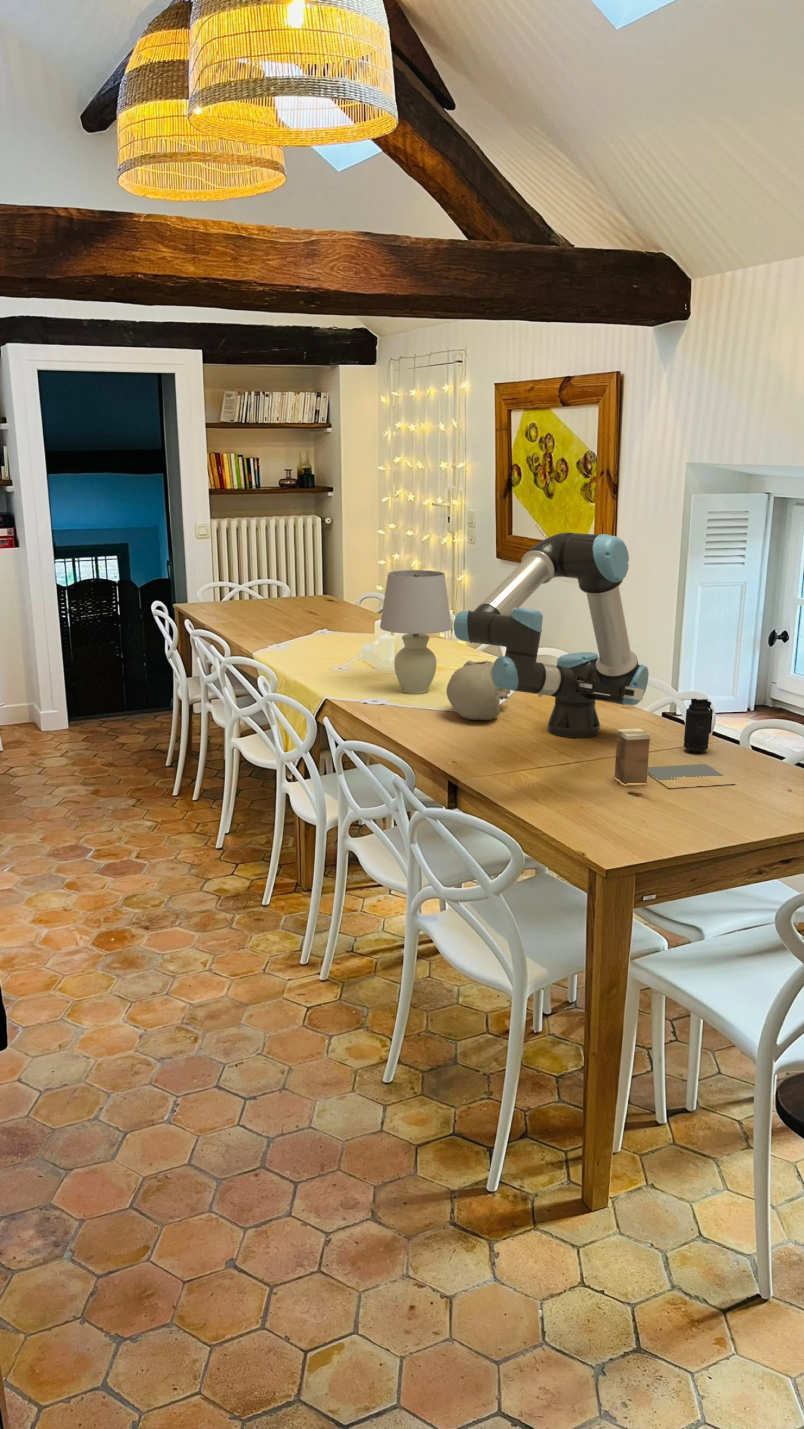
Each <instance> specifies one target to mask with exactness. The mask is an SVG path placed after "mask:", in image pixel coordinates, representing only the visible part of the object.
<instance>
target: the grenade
mask: <svg viewBox="0 0 804 1429" xmlns="http://www.w3.org/2000/svg"><path fill="white" fill-rule="evenodd" d="M711 706H712V702H711V701H709V700H708V698H703V699H697V698H690V704H689V706H688V708H687V709H686V712H685V723H684V733H683V736H684V738H683V742H684V743H683V747H684V748H685V749H686V750H687V751H688V753H689V754H690V753H691V754H703V752H704V751H706V750H707V749H708V748H709V741H710V740H709V739H710V734H711V733H712V724H713V714H714V710H713V709H712V707H711Z"/></svg>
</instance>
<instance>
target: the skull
mask: <svg viewBox="0 0 804 1429" xmlns="http://www.w3.org/2000/svg"><path fill="white" fill-rule="evenodd" d="M493 666H494V662H492V661H489V660H485V661H472V660H468V661H466V662H465V663H464V664H463V666H462V667H459V668H457V669H456V670H455V671H454V672H453V674H452V675H451V677H450V679H449V681H448V683H447V686H446V696H447V699H448V701H449V704H450V706H451V707H452V709H453V710H454V711H455V712H456V713H457V714H458V715H459V716H460V717H462V718H464V719H467V720H470V721H471V720H472V721H491V720H493V719H494V718H496V717H498V716H499V715H500V714H501V712H500V711H501V710H500V700H502V701H503V700H507V699H509V696H508V694H509V695H510V694H511V690H508V689H503V688H499V687H497V686H496V685H495V684H494V683H493V681H492V675H491V672H492V667H493Z"/></svg>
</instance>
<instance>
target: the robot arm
mask: <svg viewBox="0 0 804 1429" xmlns="http://www.w3.org/2000/svg"><path fill="white" fill-rule="evenodd" d="M629 561H630V556H629V550H628V548H627V545H626V543H625V542H624V540H623V539H621V537H619V536H617V535H616V536H615V535H610V534H606V533H602V534H593V533H591V534H590V533H581V532H580V533H579V532H578V533H576V532H575V533H574V532H567V531H566V532H560V533H557V534H553V535H551V536H548V537H547V538H545V539H543V540H541V541H540V542H538V543H537V544H535V545H533V546H532V547H531V548H529V550H527V551H526V552H525V553H524V555H523V556H522V558H521V561H520V564H519V565H518V566H517V567H516V568H515V569H514V570H513V571H512V572H511V573H510V574H509V575H508V576H507V577H506V578H505V579H504V580H503V581H502V582H501V583H500V584H499V585H498V586H497V587H496V588H494V590H493V591H492V592H491V593H490V594H489V595H488V596H487V597H486V598H485V599H484V600H483V601H482V602H481V603H480V604H479V605H478V606H477V607H476V608H475V609H474V610H469V609H468V610H461V611H459V612H457V614H456V616H455V617H454V618H455V619H454V621H453V631H454V636H455V637H456V639H457V640H459V641H462V642H467V643H470V644H480V645H481V644H482V645H489V646H498V647H505V653H504V656H499V657H496V659H495V660H494V662H493V663H494V666H493V667H492V672H491V675H492V681H493V683H494V684H495V685H496V686H497V687H499V688H503V689H508V690H510V691H513V692H520V693H529V694H534V695H535V694H537V696H538V697H539V698H542V697H543V696H547V697H548V696H549V697H554V706H553V708H552V711H551V715H550V716H549V720H548V722H547V731H548V732H549V733H550V734H552V735H555V736H558V737H559V736H560V737H564V738H565V737H566V738H575V739H576V738H577V739H578V738H591V737H595V736H598V735H599V734H600V731H601V723H600V720H599V717H598V713H597V709H596V701H600V702H606V703H611V704H612V703H613V704H617V705H622V706H625V705H627V706H636V705H638V704H639V703H640V702H642V701H643V697H644V695H645V693H646V690H647V687H648V683H649V676H650V675H649V669H648V666H646V665H644V664H640V663H639V660H638V657H637V655H636V653H635V652H633V651H632V650H631V647H630V642H629V635H628V631H627V626H626V625H627V624H626V618H625V615H624V614H625V613H624V608H623V601H622V597H621V596H622V595H621V592H620V586H621V584H622V583H623V581H624V579H625V577H626V576H627V574H628V572H629V566H630V565H629ZM561 577H562V578H571V579H577V582H578V587H579V589H580V590H581V591H582V592H583V593H584V594H586V598H587V603H588V607H589V612H590V613H589V614H590V616H591V621H592V627H593V632H594V637H595V642H596V646H597V652H598V653H597V652H593V651H591V652H589V651H586V652H585V651H584V652H581V651H580V652H574V653H567V654H562V655H561V656H559V657H558V658H557V661H556V665H555V664H550V663H544V662H538V661H537V660H538V658H537V657H538V652H539V647H540V641H541V635H542V632H543V629H542V628H543V618H544V615H543V613H542V612H541V611H539V610H537V609H536V610H535V609H531V608H524V607H521V606H522V605H523V604H524V603H525V602H526V601H527V600H528V599H529V598H530V597H531V596H532V595H533V594H534V593H535V591H537V590H538V589H539V587H541V585H543V584H548V583H549V582H551V581H552V579H554V578H561Z"/></svg>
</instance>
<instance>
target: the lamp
mask: <svg viewBox="0 0 804 1429" xmlns="http://www.w3.org/2000/svg"><path fill="white" fill-rule="evenodd" d="M379 627H380V630H382V631H386V632H390V633H395V634H403V635H402V637H401V639H402V642H403V644H404V647H402V648H401V649H400V650H399V651H397V653H396V654H395V657H394V662H393V664H394V670H395V675H396V678H397V682H398V683H399V686H400V687H401V691H402V693H405V694H409V695H421V694H422V695H423V694H426V693H427V692H429V688H430V686H431V685H432V682H433V681H434V680H433V679H434V677H435V675H436V670H437V658H436V655H435V653H434V652H433V651H432V650H431V649H430V648H429V647H428V642H429V640H430V636H429V635H430V634H439V633H445V632H448V631H450V630H452V628H453V627H452V621H451V614H450V606H449V598H448V589H447V583H446V573H445V572H441V571H437V570H427V569H426V570H425V569H405V570H404V569H403V570H401V569H400V570H393V571H390V572H387V579H386V587H385V592H384V598H383V605H382V613H381V619H380V625H379ZM428 634H429V635H428Z"/></svg>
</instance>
